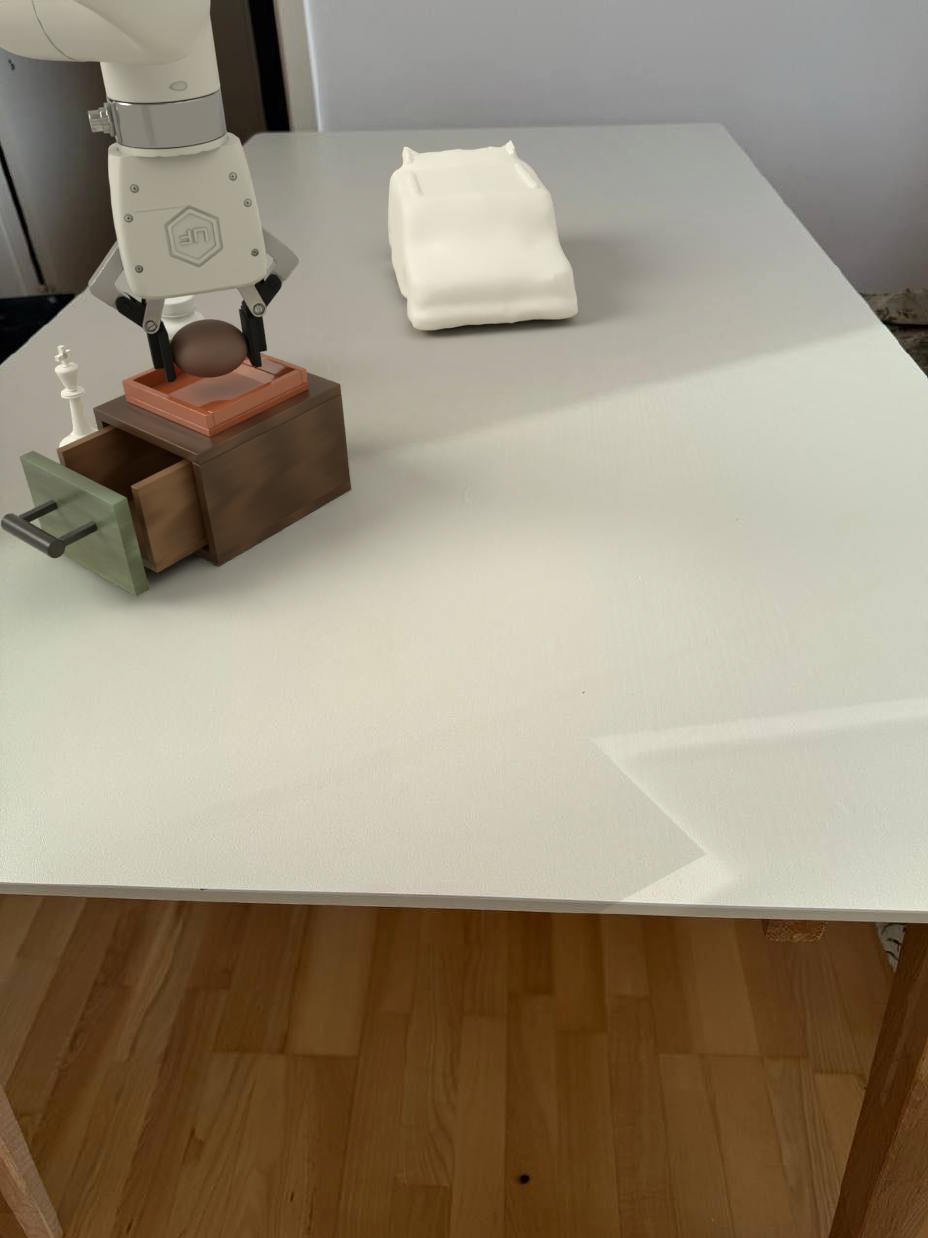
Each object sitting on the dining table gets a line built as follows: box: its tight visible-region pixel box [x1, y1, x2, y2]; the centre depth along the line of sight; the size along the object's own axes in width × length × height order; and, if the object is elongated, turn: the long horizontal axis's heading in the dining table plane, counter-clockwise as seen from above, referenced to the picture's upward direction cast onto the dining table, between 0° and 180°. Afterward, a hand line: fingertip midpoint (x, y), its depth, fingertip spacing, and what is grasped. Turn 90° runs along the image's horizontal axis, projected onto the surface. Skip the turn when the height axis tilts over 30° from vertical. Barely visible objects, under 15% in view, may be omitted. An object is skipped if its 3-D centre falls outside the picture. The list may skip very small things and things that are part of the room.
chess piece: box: [54, 344, 98, 448], centre depth 98 cm, size 5×5×10 cm
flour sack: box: [387, 139, 579, 331], centre depth 128 cm, size 19×30×13 cm, turn 9°
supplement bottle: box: [161, 295, 206, 343], centre depth 108 cm, size 5×5×10 cm
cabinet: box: [92, 371, 352, 567], centre depth 90 cm, size 15×13×10 cm
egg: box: [170, 318, 248, 378], centre depth 85 cm, size 6×6×4 cm
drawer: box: [0, 425, 208, 598], centre depth 84 cm, size 18×12×8 cm, turn 141°
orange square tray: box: [121, 352, 309, 437], centre depth 87 cm, size 10×10×2 cm
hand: (212, 366), depth 86 cm, fingers closed on egg, 6 cm apart
